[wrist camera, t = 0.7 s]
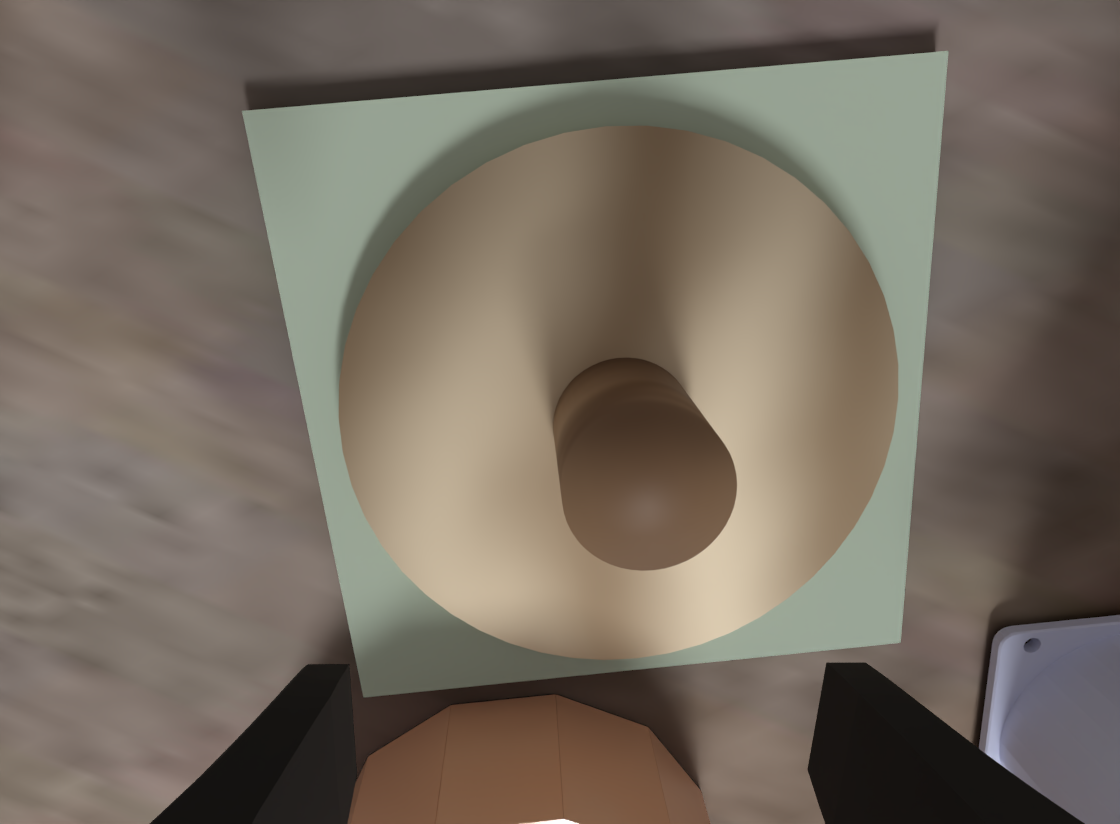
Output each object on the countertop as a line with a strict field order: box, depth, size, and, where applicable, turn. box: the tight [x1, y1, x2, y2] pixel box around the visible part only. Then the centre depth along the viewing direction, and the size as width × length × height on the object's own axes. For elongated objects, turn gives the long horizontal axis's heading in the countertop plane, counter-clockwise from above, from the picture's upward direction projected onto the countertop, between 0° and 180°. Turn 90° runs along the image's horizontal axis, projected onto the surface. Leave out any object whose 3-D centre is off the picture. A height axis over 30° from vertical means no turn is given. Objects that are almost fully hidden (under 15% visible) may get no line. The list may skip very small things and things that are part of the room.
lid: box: [339, 126, 898, 660], centre depth 17 cm, size 14×14×5 cm
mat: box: [242, 51, 948, 698], centre depth 19 cm, size 16×16×1 cm
